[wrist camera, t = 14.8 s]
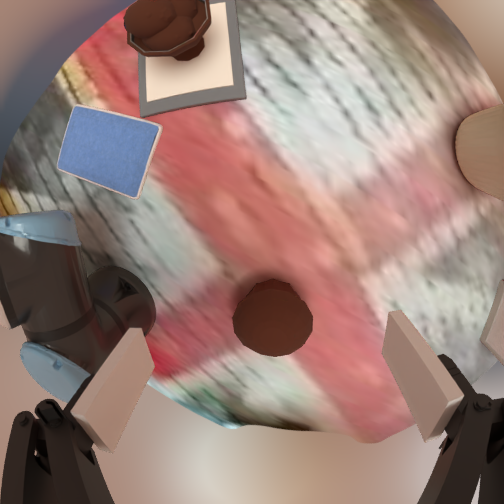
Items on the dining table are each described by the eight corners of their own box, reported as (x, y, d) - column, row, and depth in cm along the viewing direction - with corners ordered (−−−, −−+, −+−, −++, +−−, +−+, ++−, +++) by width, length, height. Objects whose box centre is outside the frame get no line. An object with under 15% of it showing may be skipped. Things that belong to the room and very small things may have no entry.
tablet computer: (166, 125, 37) (163, 124, 36) (140, 200, 41) (137, 202, 40) (78, 103, 36) (73, 102, 35) (59, 169, 40) (54, 169, 38)
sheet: (148, 102, 34) (147, 101, 34) (147, 21, 30) (146, 20, 29) (233, 85, 33) (233, 84, 33) (225, 3, 29) (225, 2, 28)
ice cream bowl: (215, 78, 33) (188, 34, 18) (145, 76, 33) (92, 44, 18) (230, 20, 29) (213, -37, 15) (162, 21, 29) (122, -25, 15)
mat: (143, 117, 36) (140, 116, 35) (142, 18, 30) (139, 16, 29) (246, 99, 35) (245, 97, 34) (234, -3, 29) (234, -6, 28)
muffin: (321, 297, 44) (333, 331, 34) (280, 342, 47) (282, 380, 37) (262, 257, 42) (262, 284, 33) (223, 307, 45) (213, 343, 36)
